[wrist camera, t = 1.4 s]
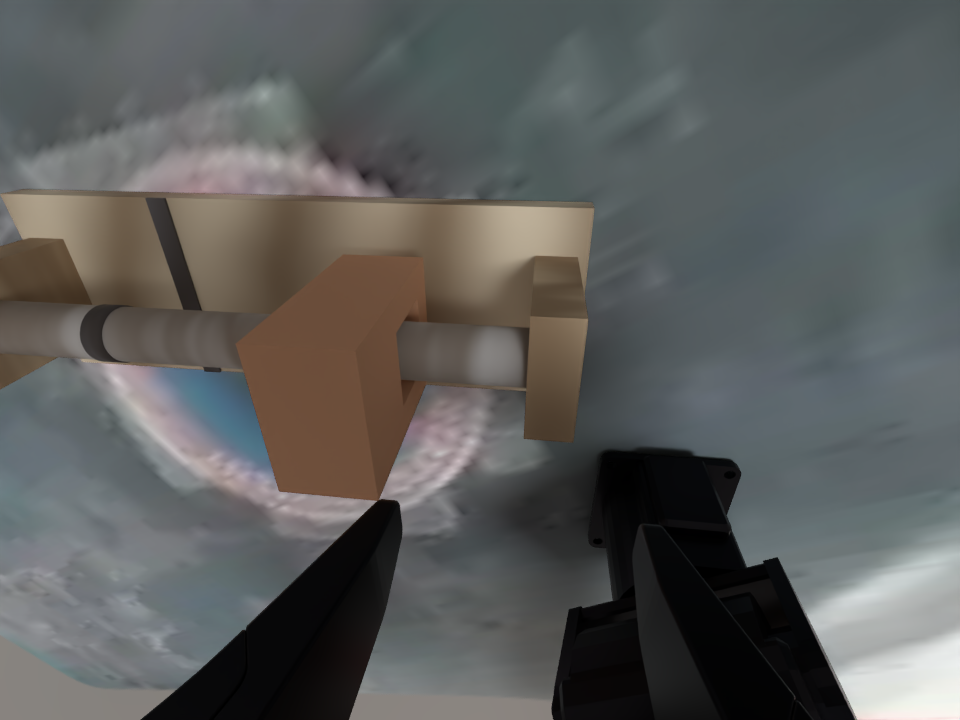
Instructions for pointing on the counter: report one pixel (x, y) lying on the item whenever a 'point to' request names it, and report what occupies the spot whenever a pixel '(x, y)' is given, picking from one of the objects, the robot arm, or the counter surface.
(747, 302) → the counter surface
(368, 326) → the brown block with hole
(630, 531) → the robot arm
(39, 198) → the pipe stand
